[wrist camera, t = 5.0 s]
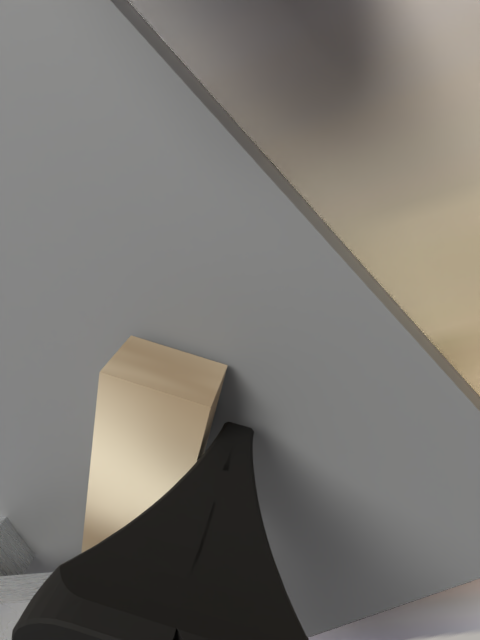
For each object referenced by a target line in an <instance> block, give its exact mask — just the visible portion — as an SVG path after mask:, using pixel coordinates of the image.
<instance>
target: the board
mask: <svg viewBox="0 0 480 640" xmlns="http://www.w3.org/2000/svg"><path fill="white" fill-rule="evenodd" d="M131 335H132V336H135V337H138V338H141V339H144V340H148V341H151V342H154V343H157V344H161V345H164V346H167V347H170V348H173V349H177V350H180V351H183V352H186V353H190V354H193V355H196V356H199V357H202V358H206V359H209V360H212V361H215V362H219V363H222V364H225V365H228V366H227V370H226V374H225V377H224V381H223V385H222V389H221V392H220V396H219V400H218V403H217V407H216V411H215V415H214V418H213V422H212V426H211V429H210V433H209V437H208V441H207V444H206V448H205V451H206V450H207V449H208V448H209V446H210V445H211V444H212V442H213V441H214V440H215V438H216V437H217V435H218V434H219V432H220V431H221V429H222V427H223V425H224V423H226V422H232V423H236V424H239V425H243V426H246V427H250V428H252V429H253V431H254V435H253V466H254V475H255V483H256V490H257V496H258V501H259V506H260V511H261V515H262V520H263V524H264V528H265V531H266V535H267V538H268V542H269V545H270V548H271V551H272V555H273V558H274V561H275V563H276V566H277V569H278V571H279V574H280V577H281V579H282V582H283V585H284V587H285V590H286V592H287V595H288V597H289V599H290V601H291V604H292V606H293V608H294V611H295V613H296V615H297V617H298V619H299V621H300V623H301V625H302V628H303V630H304V632H305V634H306V636H307V637H311V636H314V635H317V634H320V633H323V632H325V631H328V630H331V629H334V628H337V627H340V626H343V625H346V624H349V623H352V622H354V621H357V620H360V619H363V618H366V617H369V616H372V615H375V614H378V613H381V612H384V611H386V610H389V609H392V608H395V607H398V606H401V605H404V604H407V603H410V602H413V601H415V600H418V599H421V598H424V597H427V596H430V595H433V594H436V593H439V592H442V591H444V590H447V589H450V588H453V587H456V586H459V585H462V584H465V583H468V582H471V581H474V580H476V579H479V578H480V397H479V396H478V394H477V393H476V392H475V391H474V390H473V389H472V388H471V387H470V385H469V384H468V383H467V382H466V381H465V380H464V379H463V378H462V376H461V375H460V374H459V373H458V372H457V371H456V370H455V369H454V367H453V366H452V365H451V364H450V363H449V362H448V361H447V360H446V358H445V357H444V356H443V355H442V354H441V353H440V352H439V351H438V349H437V348H436V347H435V346H434V345H433V344H432V343H431V342H430V340H429V339H428V338H427V337H426V336H425V335H424V334H423V333H422V331H421V330H420V329H419V328H418V327H417V326H416V325H415V324H414V322H413V321H412V320H411V319H410V318H409V317H408V316H407V315H406V313H405V312H404V311H403V310H402V309H401V308H400V307H399V306H398V304H397V303H396V302H395V301H394V300H393V299H392V298H391V297H390V295H389V294H388V293H387V292H386V291H385V290H384V289H383V288H382V286H381V285H380V284H379V283H378V282H377V281H376V280H375V279H374V277H373V276H372V275H371V274H370V273H369V272H368V271H367V270H366V268H365V267H364V266H363V265H362V264H361V263H360V262H359V261H358V259H357V258H356V257H355V256H354V255H353V254H352V253H351V252H350V250H349V249H348V248H347V247H346V246H345V245H344V244H343V243H342V241H341V240H340V239H339V238H338V237H337V236H336V235H335V234H334V232H333V231H332V230H331V229H330V228H329V227H328V226H327V225H326V223H325V222H324V221H323V220H322V219H321V218H320V217H319V216H318V214H317V213H316V212H315V211H314V210H313V209H312V208H311V207H310V206H309V204H308V203H307V202H306V201H305V200H304V199H303V198H302V197H301V195H300V194H299V193H298V192H297V191H296V190H295V189H294V188H293V186H292V185H291V184H290V183H289V182H288V181H287V180H286V179H285V177H284V176H283V175H282V174H281V173H280V172H279V171H278V170H277V168H276V167H275V166H274V165H273V164H272V163H271V162H270V161H269V159H268V158H267V157H266V156H265V155H264V154H263V153H262V152H261V150H260V149H259V148H258V147H257V146H256V145H255V144H254V143H253V141H252V140H251V139H250V138H249V137H248V136H247V135H246V134H245V132H244V131H243V130H242V129H241V128H240V127H239V126H238V125H237V123H236V122H235V121H234V120H233V119H232V118H231V117H230V116H229V114H228V113H227V112H226V111H225V110H224V109H223V108H222V107H221V105H220V104H219V103H218V102H217V101H216V100H215V99H214V98H213V96H212V95H211V94H210V93H209V92H208V91H207V90H206V89H205V87H204V86H203V85H202V84H201V83H200V82H199V81H198V80H197V78H196V77H195V76H194V75H193V74H192V73H191V72H190V71H189V69H188V68H187V67H186V66H185V65H184V64H183V63H182V62H181V60H180V59H179V58H178V57H177V56H176V55H175V54H174V53H173V51H172V50H171V49H170V48H169V47H168V46H167V45H166V44H165V42H164V41H163V40H162V39H161V38H160V37H159V36H158V35H157V33H156V32H155V31H154V30H153V29H152V28H151V27H150V26H149V24H148V23H147V22H146V21H145V20H144V19H143V18H142V17H141V16H140V14H139V13H138V12H137V11H136V10H135V9H134V8H133V7H132V5H131V4H130V3H129V2H128V1H127V0H0V518H2V517H7V518H8V519H9V521H10V522H11V523H12V525H13V526H14V527H15V529H16V530H17V531H18V533H19V534H20V535H21V537H22V538H23V539H24V541H25V542H26V543H27V545H28V546H29V547H30V549H31V550H32V551H33V552H34V554H35V557H34V558H33V560H32V562H31V563H30V565H29V566H28V568H27V569H26V571H25V572H24V574H36V573H49V572H54V571H55V569H56V568H57V567H58V566H59V565H61V564H63V563H65V562H66V561H68V560H70V559H72V558H74V557H75V556H77V555H79V554H81V552H82V542H83V532H84V522H85V512H86V502H87V492H88V482H89V472H90V462H91V452H92V442H93V432H94V422H95V412H96V402H97V392H98V382H99V372H100V371H101V370H102V368H103V367H104V366H105V365H106V364H107V363H108V361H109V360H110V359H111V358H112V357H113V356H114V354H115V353H116V352H117V351H118V350H119V349H120V348H121V346H122V345H123V344H124V343H125V342H126V341H127V339H128V338H129V337H130V336H131ZM204 453H205V452H204ZM24 574H23V575H24Z"/></svg>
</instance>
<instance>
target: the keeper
mask: <svg viewBox="0 0 480 640" xmlns="http://www.w3.org/2000/svg"><path fill="white" fill-rule="evenodd" d="M34 557H35V554H34V552H33V551H32V550H31V549H30V547H29V546H28V545H27V543H26V542H25V541H24V539H23V538H22V537H21V535H20V534H19V533H18V531H17V530H16V529H15V527H14V526H13V525H12V523H11V522H10V521H9V519H8V518H7V517H2V518H0V640H12V630H13V628H14V627H15V625H16V623H17V622H18V620H19V618H20V617H21V615H22V613H23V612H24V610H25V608H26V607H27V605H28V604H29V602H30V600H31V599H32V598H33V596H34V595H35V594H36V592H37V591H38V590H39V588H40V587H41V586H42V585H43V583H44V582H45V581H46V580H47V578H48V577H49V576H50V575H51V574H52V573H53V572H49V573H36V574H24V572H25V571H26V569H27V568H28V566H29V565H30V563H31V562H32V560H33V558H34ZM23 574H24V575H23Z"/></svg>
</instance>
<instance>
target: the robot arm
mask: <svg viewBox="0 0 480 640" xmlns="http://www.w3.org/2000/svg"><path fill="white" fill-rule="evenodd" d="M253 435H254V431H253V429H252V428H250V427H246V426H243V425H239V424H236V423H232V422H226V423H224V425H223V427H222V429H221V431H220V432H219V434H218V435H217V437H216V438H215V440H214V441H213V442H212V444H211V445H210V446H209V448H208V449H207V450H206V451H205V453H204V454H203V455H202V456H201V457H200V458H199V460H198V461H197V462H196V463H195V464H194V466H193V467H192V468H191V469H190V470H189V471H188V472H187V473H186V474H185V475H184V476H183V477H182V478H181V479H180V480H179V481H178V482H177V483H176V484H175V485H174V486H173V487H172V488H171V489H170V490H169V491H168V492H167V493H166V494H164V495H163V496H162V497H161V498H160V499H159V500H158V501H156V502H155V503H154V504H153V505H152V506H150V507H149V508H148V509H147V510H145V511H144V512H143V513H142V514H140V515H139V516H138V517H136V518H135V519H134V520H132V521H131V522H130V523H128V524H127V525H126V526H124V527H123V528H121V529H120V530H118V531H117V532H115V533H114V534H112V535H110V536H109V537H107V538H106V539H104V540H103V541H101V542H100V543H98V544H97V545H95V546H93V547H92V548H90V549H88V550H86V551H84V552H83V553H81V554H79V555H77V556H75V557H74V558H72V559H70V560H68V561H66V562H65V563H63V564H61V565H59V566H58V567H57V568H56V569H55V571H54V572H53V573H52V574H51V575H50V576H49V577H48V578H47V580H46V581H45V582H44V583H43V585H42V586H41V587H40V588H39V590H38V591H37V592H36V594H35V595H34V596H33V598H32V599H31V600H30V602H29V604H28V605H27V607H26V608H25V610H24V612H23V613H22V615H21V617H20V618H19V620H18V622H17V623H16V625H15V627H14V628H13V630H12V640H309V639H308V637H307V636H306V634H305V632H304V630H303V628H302V625H301V623H300V621H299V619H298V617H297V615H296V613H295V611H294V608H293V606H292V604H291V601H290V599H289V597H288V595H287V592H286V590H285V587H284V585H283V582H282V579H281V577H280V574H279V571H278V569H277V566H276V563H275V561H274V558H273V555H272V551H271V548H270V545H269V542H268V538H267V535H266V531H265V528H264V524H263V520H262V515H261V511H260V506H259V501H258V496H257V490H256V483H255V475H254V466H253Z"/></svg>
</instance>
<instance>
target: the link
mask: <svg viewBox="0 0 480 640" xmlns="http://www.w3.org/2000/svg"><path fill="white" fill-rule="evenodd" d="M227 366H228V365H225V364H222V363H219V362H215V361H212V360H209V359H206V358H202V357H199V356H196V355H193V354H190V353H186V352H183V351H180V350H177V349H173V348H170V347H167V346H164V345H161V344H157V343H154V342H151V341H148V340H144V339H141V338H138V337H135V336H132V335H131V336H130V337H129V338H128V339H127V341H126V342H125V343H124V344H123V345H122V346H121V348H120V349H119V350H118V351H117V352H116V353H115V354H114V356H113V357H112V358H111V359H110V360H109V361H108V363H107V364H106V365H105V366H104V367H103V368H102V370H101V371H100V372H99V382H98V392H97V402H96V412H95V422H94V432H93V442H92V452H91V462H90V472H89V482H88V492H87V502H86V512H85V522H84V532H83V542H82V552H81V553H83V552H84V551H86V550H88V549H90V548H92V547H93V546H95V545H97V544H98V543H100V542H101V541H103V540H104V539H106V538H107V537H109V536H110V535H112V534H114V533H115V532H117V531H118V530H120V529H121V528H123V527H124V526H126V525H127V524H128V523H130V522H131V521H132V520H134V519H135V518H136V517H138V516H139V515H140V514H142V513H143V512H144V511H145V510H147V509H148V508H149V507H150V506H152V505H153V504H154V503H155V502H156V501H158V500H159V499H160V498H161V497H162V496H163V495H164V494H166V493H167V492H168V491H169V490H170V489H171V488H172V487H173V486H174V485H175V484H176V483H177V482H178V481H179V480H180V479H181V478H182V477H183V476H184V475H185V474H186V473H187V472H188V471H189V470H190V469H191V468H192V467H193V466H194V464H195V463H196V462H197V461H198V460H199V458H200V457H201V456H202V455H203V454H204V452H205V448H206V444H207V441H208V437H209V433H210V429H211V426H212V422H213V418H214V415H215V411H216V407H217V403H218V400H219V396H220V392H221V389H222V385H223V381H224V377H225V374H226V370H227Z"/></svg>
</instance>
